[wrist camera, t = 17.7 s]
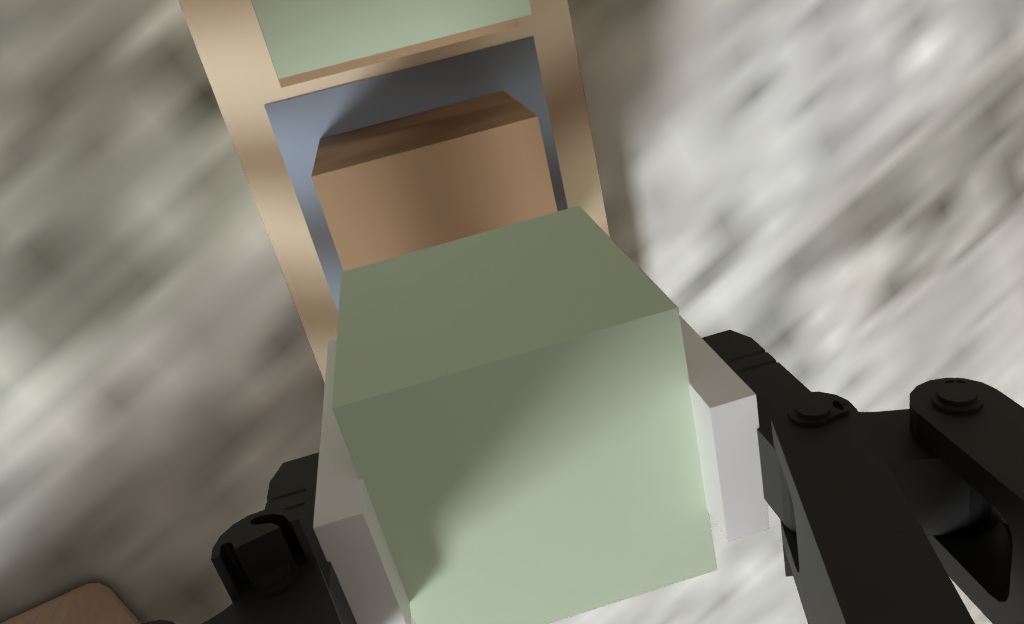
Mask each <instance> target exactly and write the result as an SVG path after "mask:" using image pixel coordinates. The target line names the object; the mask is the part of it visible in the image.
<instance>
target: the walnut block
mask: <svg viewBox="0 0 1024 624" xmlns="http://www.w3.org/2000/svg"><path fill="white" fill-rule="evenodd" d="M311 178H312V181H313V184H314V187H315V189H316V192H317V195H318V198H319V201H320V204H321V207H322V210H323V213H324V216H325V218H326V221H327V224H328V227H329V230H330V233H331V236H332V239H333V242H334V245H335V247H336V250H337V253H338V256H339V259H340V262H341V265H342V268H343V271H347V270H351V269H354V268H358V267H361V266H365V265H369V264H372V263H376V262H379V261H383V260H387V259H390V258H394V257H397V256H401V255H404V254H408V253H412V252H415V251H419V250H422V249H426V248H429V247H433V246H437V245H440V244H444V243H447V242H451V241H454V240H458V239H462V238H465V237H469V236H472V235H476V234H480V233H483V232H487V231H490V230H494V229H497V228H501V227H505V226H508V225H512V224H515V223H519V222H522V221H526V220H530V219H533V218H537V217H540V216H544V215H547V214H551V213H555V212H558V211H557V206H556V202H555V197H554V192H553V187H552V182H551V177H550V173H549V168H548V163H547V158H546V153H545V148H544V144H543V139H542V134H541V129H540V124H539V119H538V116H537V115H535V114H534V113H533V112H531V111H530V110H529V109H527V108H526V107H525V106H523V105H522V104H521V103H519V102H518V101H517V100H515V99H514V98H513V97H511V96H510V95H509V94H507V93H506V92H505V91H500V92H496V93H492V94H489V95H485V96H481V97H477V98H473V99H470V100H466V101H462V102H458V103H454V104H451V105H447V106H443V107H439V108H435V109H432V110H428V111H424V112H420V113H416V114H413V115H409V116H405V117H401V118H397V119H394V120H390V121H386V122H382V123H379V124H375V125H371V126H367V127H363V128H360V129H356V130H352V131H348V132H344V133H341V134H337V135H333V136H329V137H325V138H322V139H320V140H319V145H318V149H317V153H316V158H315V162H314V167H313V171H312V175H311Z"/></svg>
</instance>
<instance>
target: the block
mask: <svg viewBox="0 0 1024 624" xmlns="http://www.w3.org/2000/svg"><path fill="white" fill-rule="evenodd" d="M0 624H141V622H140V621H139V620H138V619H137V618H136V617H135V616H134V615H133V614H132V612H131V611H130V610H129V609H128V608H127V607H126V606H125V605H124V604H123V602H122V601H121V600H120V599H119V598H118V597H117V596H116V595H115V594H114V592H113V591H112V590H111V589H110V588H109V587H107V586H105V585H103V584H100V583H89V584H85V585H82V586H80V587H78V588H76V589H74V590H72V591H69V592H67V593H65V594H63V595H61V596H58V597H56V598H54V599H52V600H50V601H48V602H45V603H43V604H41V605H39V606H37V607H34V608H32V609H30V610H28V611H26V612H24V613H21V614H19V615H17V616H15V617H13V618H11V619H8V620H6V621H4V622H2V623H0Z"/></svg>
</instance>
